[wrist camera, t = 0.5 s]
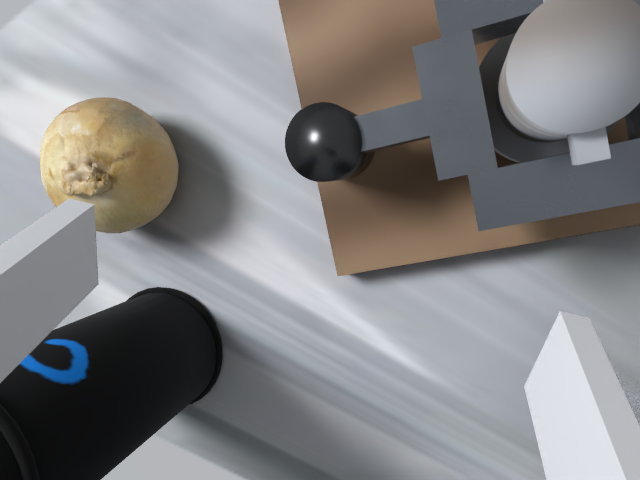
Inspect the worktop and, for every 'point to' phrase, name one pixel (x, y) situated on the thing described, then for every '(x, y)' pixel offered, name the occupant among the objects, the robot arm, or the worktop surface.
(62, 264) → the robot arm
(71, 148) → the onion
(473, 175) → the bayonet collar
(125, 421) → the aerosol can
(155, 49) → the worktop surface
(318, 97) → the base
